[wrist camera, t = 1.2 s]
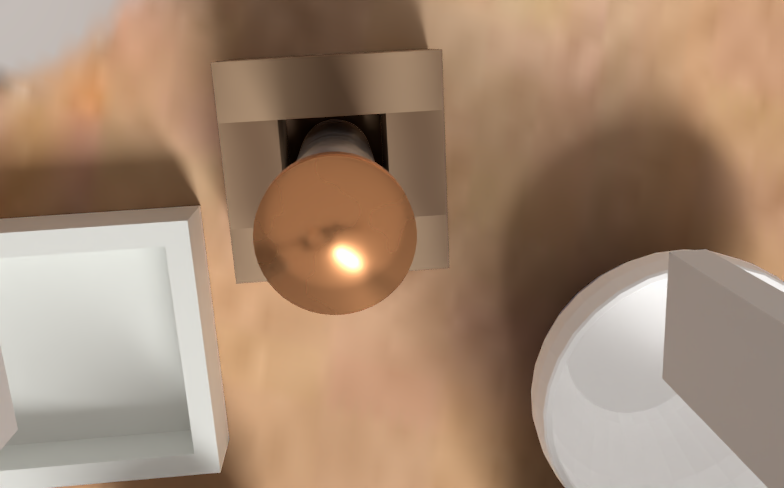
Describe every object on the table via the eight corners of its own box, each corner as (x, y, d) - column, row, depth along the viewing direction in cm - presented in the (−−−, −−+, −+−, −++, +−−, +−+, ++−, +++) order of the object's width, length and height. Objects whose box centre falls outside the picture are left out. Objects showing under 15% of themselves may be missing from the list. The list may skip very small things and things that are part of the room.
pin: (293, 202, 38) (261, 320, 22) (284, 110, 37) (244, 161, 21) (384, 196, 39) (420, 308, 22) (379, 104, 37) (413, 151, 21)
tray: (-91, 466, 41) (-128, 503, 37) (-152, 228, 37) (-200, 246, 34) (229, 438, 42) (220, 472, 38) (200, 205, 38) (187, 220, 35)
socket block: (248, 253, 39) (236, 283, 34) (227, 60, 36) (210, 62, 31) (435, 240, 39) (449, 268, 35) (428, 48, 37) (441, 49, 32)
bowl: (645, 167, 39) (715, 195, 32) (802, 338, 43) (898, 399, 35) (452, 351, 41) (477, 417, 34) (617, 500, 45) (672, 590, 37)
